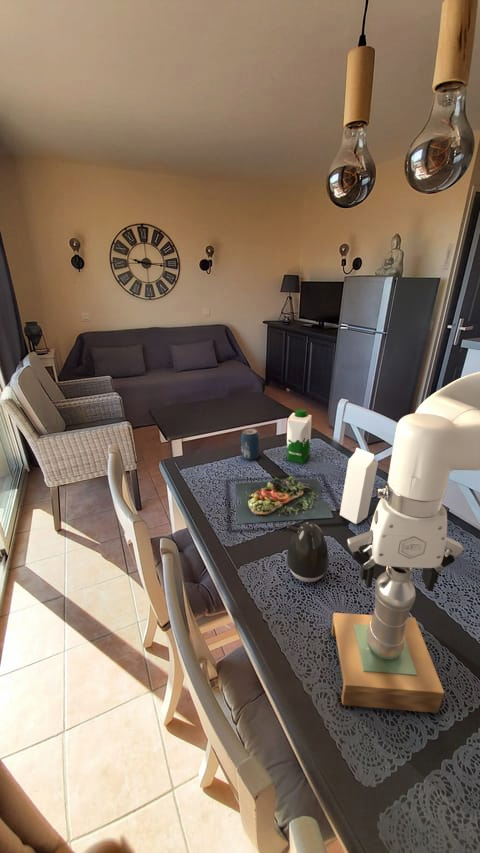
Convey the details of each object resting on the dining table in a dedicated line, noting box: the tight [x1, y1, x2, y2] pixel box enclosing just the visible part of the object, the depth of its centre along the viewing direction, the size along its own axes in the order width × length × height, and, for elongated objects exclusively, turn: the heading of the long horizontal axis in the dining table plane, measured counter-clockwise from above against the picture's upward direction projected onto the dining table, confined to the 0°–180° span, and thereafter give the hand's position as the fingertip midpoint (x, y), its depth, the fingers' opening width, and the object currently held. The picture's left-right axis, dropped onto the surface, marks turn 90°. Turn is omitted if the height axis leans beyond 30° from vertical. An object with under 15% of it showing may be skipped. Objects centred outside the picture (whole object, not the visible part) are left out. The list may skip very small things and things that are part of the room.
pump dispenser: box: [286, 521, 330, 583], centre depth 88 cm, size 10×10×15 cm
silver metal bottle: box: [367, 566, 417, 659], centre depth 62 cm, size 6×7×20 cm
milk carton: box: [286, 408, 312, 464], centre depth 140 cm, size 9×9×20 cm
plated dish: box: [234, 476, 334, 525], centre depth 117 cm, size 35×28×7 cm
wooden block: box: [331, 612, 445, 714], centre depth 68 cm, size 16×14×6 cm
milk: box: [339, 447, 379, 525], centre depth 106 cm, size 6×6×22 cm
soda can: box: [240, 427, 260, 462], centre depth 144 cm, size 7×7×12 cm
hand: (396, 582), depth 60 cm, fingers open, 9 cm apart
